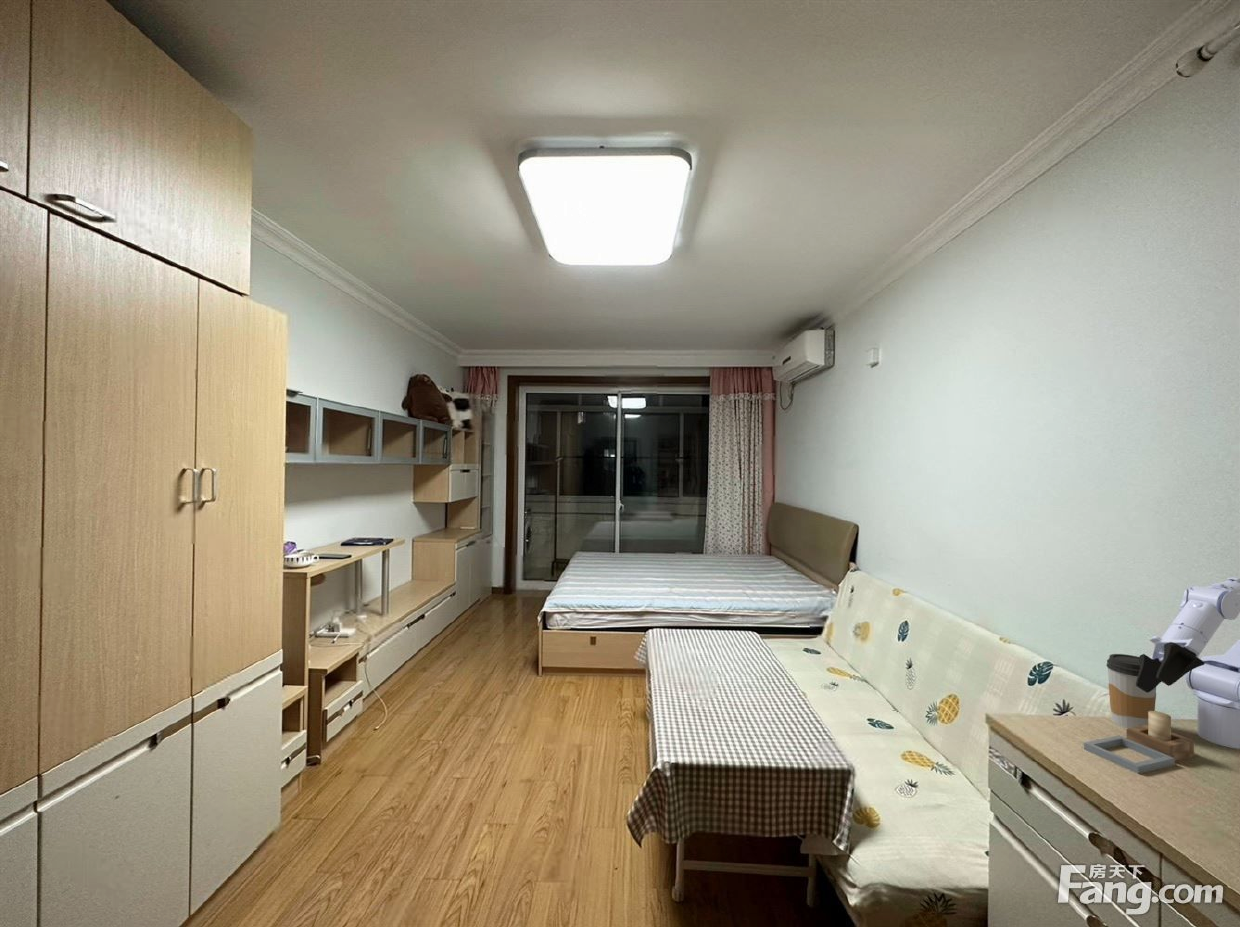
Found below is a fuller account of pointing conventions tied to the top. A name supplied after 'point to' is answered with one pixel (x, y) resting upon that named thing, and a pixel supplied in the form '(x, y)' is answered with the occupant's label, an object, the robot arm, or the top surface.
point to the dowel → (1159, 725)
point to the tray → (1139, 767)
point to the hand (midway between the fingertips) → (1152, 685)
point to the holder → (1163, 743)
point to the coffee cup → (1128, 692)
